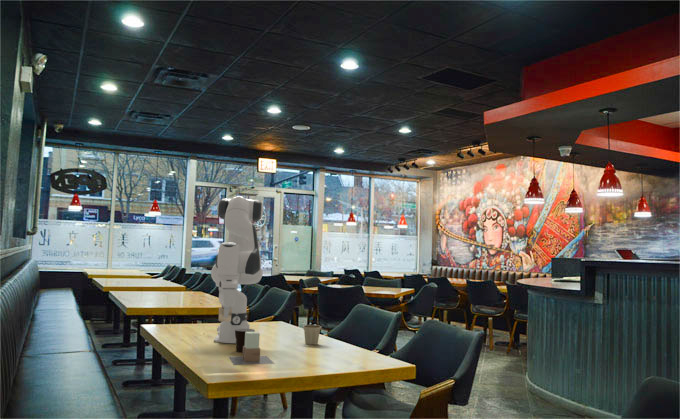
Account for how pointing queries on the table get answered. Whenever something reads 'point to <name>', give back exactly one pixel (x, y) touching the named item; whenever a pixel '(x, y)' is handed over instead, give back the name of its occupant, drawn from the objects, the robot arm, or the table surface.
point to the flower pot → (311, 334)
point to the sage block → (252, 340)
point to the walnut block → (251, 354)
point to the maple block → (221, 313)
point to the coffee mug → (241, 338)
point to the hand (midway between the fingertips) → (224, 316)
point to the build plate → (240, 361)
